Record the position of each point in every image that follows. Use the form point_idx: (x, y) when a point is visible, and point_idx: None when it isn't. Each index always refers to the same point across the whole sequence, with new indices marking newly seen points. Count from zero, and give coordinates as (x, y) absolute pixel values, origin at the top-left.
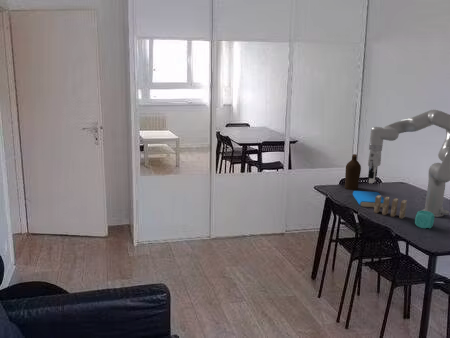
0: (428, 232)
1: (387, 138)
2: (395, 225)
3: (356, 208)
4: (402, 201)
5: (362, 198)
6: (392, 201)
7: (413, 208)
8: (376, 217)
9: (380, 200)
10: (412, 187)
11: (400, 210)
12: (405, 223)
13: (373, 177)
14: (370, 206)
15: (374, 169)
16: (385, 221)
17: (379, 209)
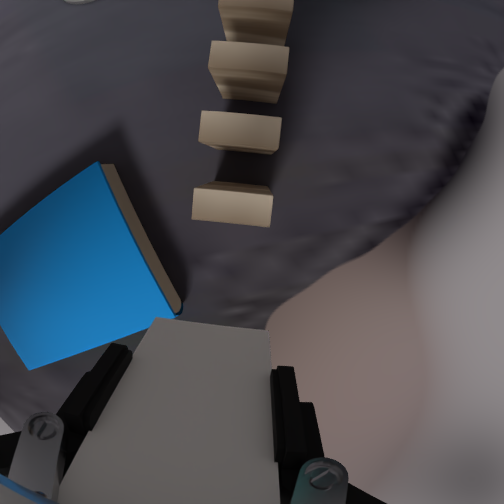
0: None
1: None
2: (423, 72)
3: (241, 313)
4: (276, 3)
5: (113, 319)
6: (285, 76)
7: (51, 50)
8: (354, 175)
9: (212, 186)
10: None
11: (285, 36)
12: (360, 25)
13: (289, 373)
14: (153, 251)
15: (193, 493)
16: (395, 120)
17: (219, 182)
